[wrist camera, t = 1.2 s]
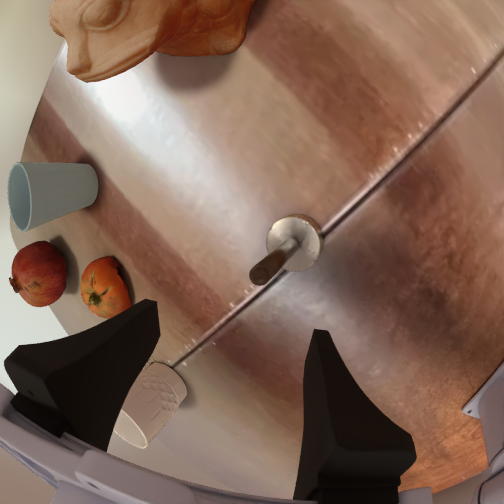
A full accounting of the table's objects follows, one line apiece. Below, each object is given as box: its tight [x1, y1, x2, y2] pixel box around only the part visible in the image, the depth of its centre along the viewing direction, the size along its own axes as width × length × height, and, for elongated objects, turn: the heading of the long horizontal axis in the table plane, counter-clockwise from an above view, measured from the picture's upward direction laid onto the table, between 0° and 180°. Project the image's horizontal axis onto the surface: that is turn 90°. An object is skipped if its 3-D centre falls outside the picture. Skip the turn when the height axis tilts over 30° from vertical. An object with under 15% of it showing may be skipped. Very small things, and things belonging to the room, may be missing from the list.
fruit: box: [9, 241, 66, 307], centre depth 36 cm, size 11×10×10 cm
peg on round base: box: [249, 214, 323, 286], centre depth 21 cm, size 4×4×9 cm
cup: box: [8, 162, 98, 232], centre depth 29 cm, size 8×8×10 cm
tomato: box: [81, 256, 132, 319], centre depth 35 cm, size 8×7×7 cm
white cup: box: [113, 362, 187, 448], centre depth 33 cm, size 8×8×10 cm
